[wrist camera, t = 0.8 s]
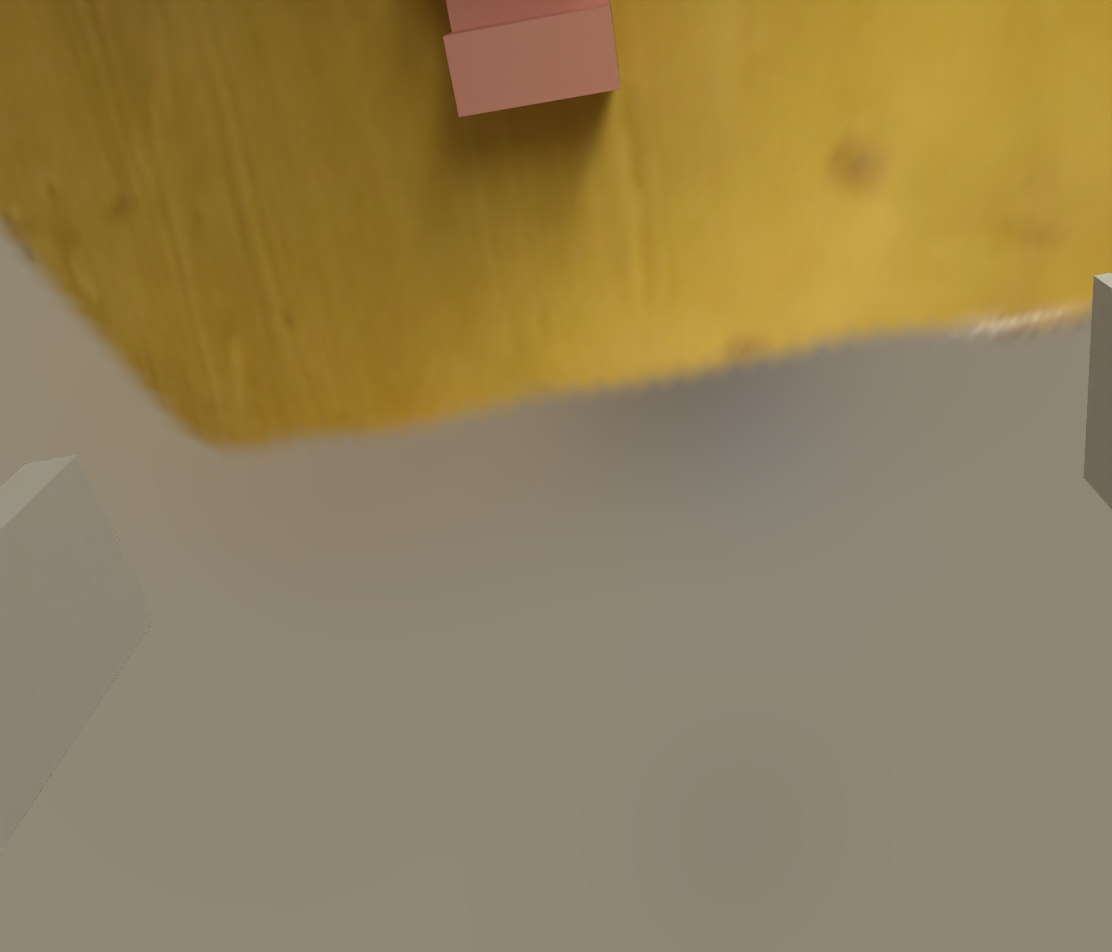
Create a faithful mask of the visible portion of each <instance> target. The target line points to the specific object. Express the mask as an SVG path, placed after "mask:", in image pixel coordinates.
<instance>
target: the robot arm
mask: <svg viewBox="0 0 1112 952" xmlns="http://www.w3.org/2000/svg"><path fill="white" fill-rule="evenodd" d="M1086 425H1087V426H1086V446H1085V464H1084V479H1085V480H1086V481H1087V482H1088V483H1089V484H1090V485H1091V486H1092V487H1093V489H1094V490H1095V491H1096V492H1097V493H1098V494H1099V495H1100V497H1101V498H1102V499H1103V500H1104V501H1105V502H1106V503H1107V505H1108V506H1109V507H1110V508H1111V509H1112V273H1107V274H1101V275H1096V276H1094V283H1093V303H1092V323H1091V345H1090V365H1089V384H1088V405H1087V424H1086ZM155 617H156V615H155V613H154V611H153V609H152V607H151V605H150V603H149V601H148V599H147V597H146V595H145V593H144V591H143V589H142V586H141V584H140V582H139V580H138V578H137V576H136V574H135V572H134V570H133V568H132V566H131V564H130V562H129V560H128V558H127V556H126V554H125V552H124V550H123V547H122V546H121V544H120V541H119V539H118V537H117V535H116V533H115V531H114V529H113V527H112V525H111V523H110V521H109V519H108V517H107V515H106V513H105V510H104V509H103V506H102V504H101V502H100V500H99V498H98V496H97V494H96V492H95V490H94V488H93V486H92V484H91V482H90V480H89V478H88V476H87V473H86V471H85V469H84V467H83V465H82V463H81V461H80V459H79V457H78V455H70V456H65V457H59V458H53V459H48V460H42V461H36V462H31V463H26V464H25V465H24V466H23V467H21V468H20V469H19V470H18V471H17V472H16V473H15V474H14V475H13V476H12V477H10V478H9V479H8V480H7V481H6V482H5V483H4V484H3V485H2V486H1V487H0V852H1V851H2V849H3V847H4V846H5V844H6V843H7V841H8V840H9V838H10V837H11V835H12V834H13V832H14V831H15V829H16V828H17V826H18V825H19V823H20V822H21V820H22V819H23V817H24V816H25V814H26V813H27V811H28V810H29V808H30V807H31V805H32V804H33V802H34V800H35V799H36V798H37V796H38V794H39V793H40V792H41V790H42V788H43V787H44V785H45V784H46V782H47V781H48V779H49V778H50V776H51V775H52V773H53V772H54V770H55V769H56V767H57V766H58V764H59V763H60V761H61V759H62V758H63V757H64V755H65V754H66V752H67V751H68V749H69V747H70V746H71V744H72V743H73V742H74V740H75V738H76V737H77V735H78V734H79V732H80V731H81V729H82V728H83V726H84V725H85V723H86V722H87V720H88V719H89V717H90V716H91V714H92V713H93V711H94V710H95V708H96V707H97V705H98V704H99V702H100V701H101V699H102V698H103V696H104V695H105V693H106V692H107V690H108V689H109V687H110V685H111V684H112V683H113V681H114V679H115V678H116V676H117V675H118V673H119V672H120V670H121V669H122V667H123V666H124V664H125V663H126V661H127V660H128V658H129V657H130V655H131V654H132V652H133V651H134V649H135V648H136V646H137V645H138V643H139V642H140V640H141V639H142V637H143V635H144V634H145V633H146V631H147V629H148V628H149V627H150V625H151V623H152V622H153V620H154V619H155Z"/></svg>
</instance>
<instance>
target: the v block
mask: <svg viewBox="0 0 1112 952" xmlns="http://www.w3.org/2000/svg"><path fill="white" fill-rule="evenodd" d="M446 5H447V10H448V15H449V20H450V25H451V30H452V32H451V33H449V34H447V35H445V36H443V41H444V46H445V50H446V55H447V60H448V65H449V70H450V75H451V80H452V85H453V90H454V95H455V100H456V105H457V110H458V115H459V117H463V116H469V115H475V114H480V113H486V112H492V111H498V110H503V109H509V108H515V107H521V106H526V105H532V104H538V103H544V102H550V101H555V100H561V99H567V98H573V97H578V96H584V95H590V94H596V93H601V92H607V91H613V90H619V89H621V86H620V78H619V70H618V62H617V54H616V47H615V39H614V31H613V24H612V16H611V8H610V1H609V0H446Z"/></svg>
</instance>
